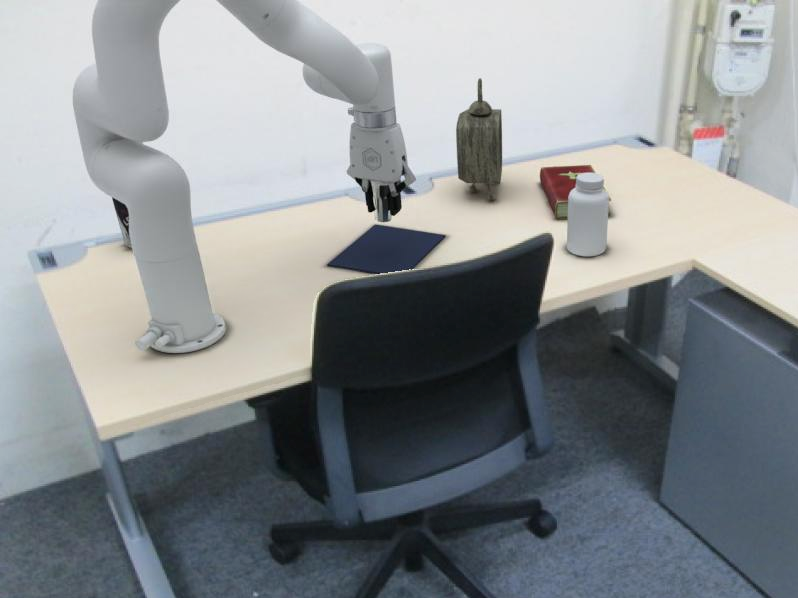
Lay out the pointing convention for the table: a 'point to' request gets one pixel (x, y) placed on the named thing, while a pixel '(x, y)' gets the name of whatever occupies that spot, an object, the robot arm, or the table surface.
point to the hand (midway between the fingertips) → (384, 210)
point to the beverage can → (123, 220)
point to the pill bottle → (587, 216)
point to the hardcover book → (561, 186)
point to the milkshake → (381, 200)
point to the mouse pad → (386, 250)
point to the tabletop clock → (479, 144)
